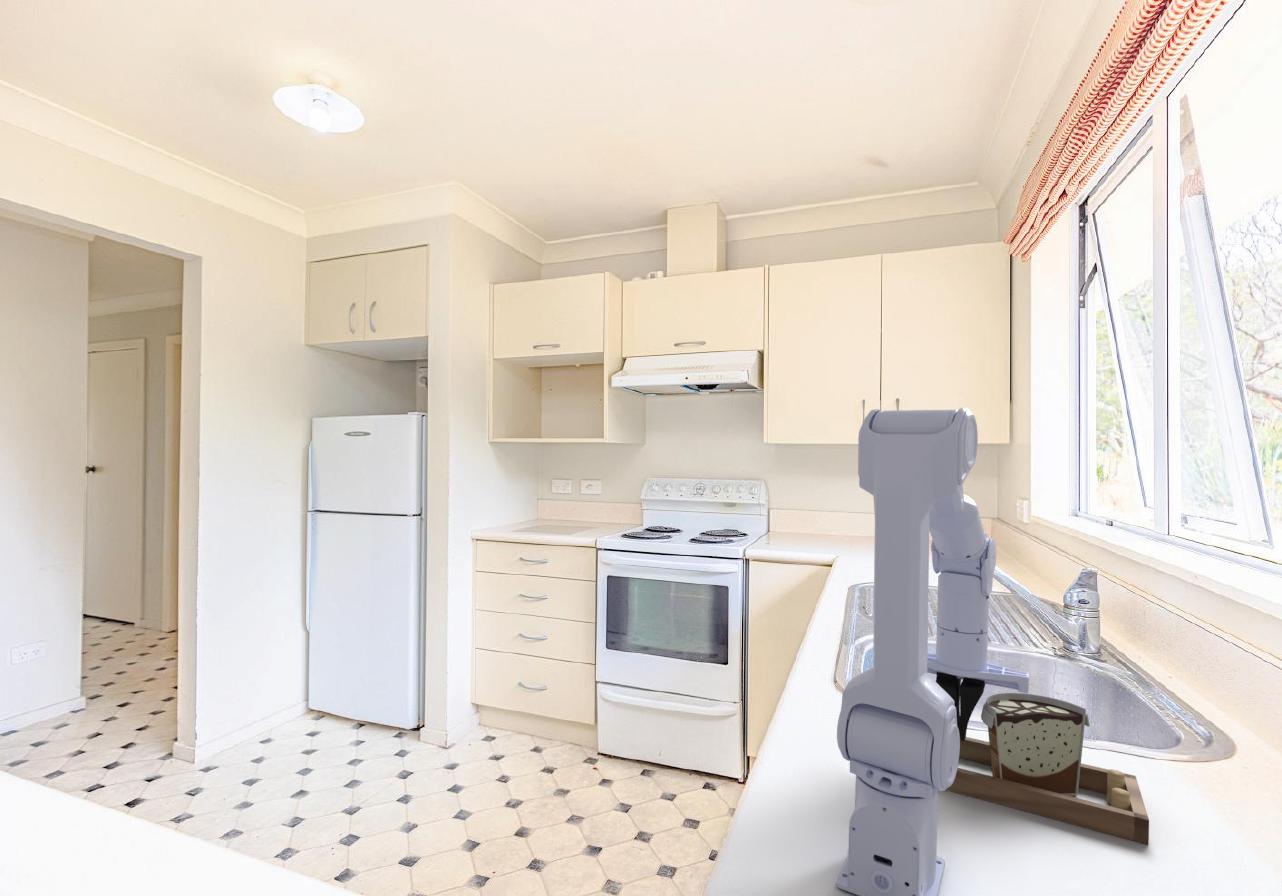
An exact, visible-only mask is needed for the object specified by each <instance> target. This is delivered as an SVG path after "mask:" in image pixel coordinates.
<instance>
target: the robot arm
mask: <svg viewBox="0 0 1282 896" xmlns="http://www.w3.org/2000/svg"><path fill="white" fill-rule="evenodd" d="M978 435H979V434H978V423H977V419H976V417H975V415H974V414H973V413H972V412H971V410H970V409H969V408H967V407H960V408H958V409H919V410H918V409H905V410H904V409H903V410H902V409H899V410H898V409H897V410H882V409H879V408H877V409H876V408H874V409H872V410H870V411H869V412H868V413H867V414H866V417H864V419H863V421H862V425H861V426H860V428H859V432H858V437H857V439H858V444H857V445H858V448H857V449H858V453H857V455H858V456H857V457H858V459H857V462H858V463H857V475H858V478H859V479H858V480H859V481H858V482H859V483H858V486H859V488H861V489H863V490H864V491H865V492H867V493H868V494H870V495H871V496H873V508H874V558H873V559H874V560H873V561H874V563H873V565H874V566H873V570H874V571H873V643H872V644H873V646H872V647H873V652H872V653H873V654H872V655H873V656H872V658H873V660H872V662H873V663H872V667H871V668H868V669H866V670H865V671H863V672H861V673H859V674H857V675H856V676H854V677H853V678H851V679H850V680H849V681H848V682H847V684H846V685H845V687H844V689H843V691H842V695H841V697H842V698H841V707H840V712H839V715H838V720H837V726H836V727H837V728H836V742H837V747H838V750H839V751H840V754H841V756H842V758H843V759H844V760H846V761H848V762H849V773H851V774H853V775H855V788H854V789H855V793H854V794H855V795H854V799H855V800H854V809H853V812H852V814H851V816H850V819H849V825H848V849H847V851H848V854H847V858H846V860H845V862H844V864H843V866H842V869H840V872H839V875H838V876H837V879H836V887H838V889H841V890H843V891H846V892H849V893H851V894H854V895H856V896H939V893H940V888H941V884H942V879H943V875H944V871H945V867H946V860H945V859H944V858H942V857H940V856H939V855H937V848H938V847H937V845H938V841H937V840H938V837H937V836H938V811H939V810H938V808H939V806H938V805H939V804H938V803H939V791H940V792H944V791H947V790H946V789H947V788H948V787H950V786H951V785H952V784H953V782H954V779H955V776H956V772H957V768H959V760H960V758H959V752H960V740H961V741H965V738H966V737H967V730H968V726H969V721H970V718H971V717H972V714H973V712H974V710H975V707H976V706H977V704H978V702H979V701H980V699H981V698H982V696H983V694H984V690H985V687H986V685H991V686H995V687H1002V688H1007V689H1010V690H1011V689H1012V690H1017V693H1025V694H1029V691H1030V687H1029V686H1030V673H1029V672H1024V671H1020V670H1015V669H1012V668H1008V667H1005V666H1001V665H997V664H993V663H990V662H988V650H989V649H988V648H989V647H988V646H989V645H988V644H989V641H988V639H989V613H990V611H989V610H990V609H989V608H990V603H989V602H990V598H989V597H990V594H991V593H992V591H993V581H994V580H993V579H994V574H995V569H996V564H997V546H996V541H995V539H994V538H989V536H988V534H987V533H985V530H984V525H983V523H982V519H981V515H980V510H979V508H978V505H977V503H976V502H975V501H974V499H973V498H971V497H970V496H968V495H967V494H964V487H963V485H964V483H965V481H966V479H967V477H968V476H969V473H970V471H971V470H972V469H973V467H974V466H975V463H976V459H977V453H978V441H979V440H978V439H979V437H978ZM930 536H931V538H932V539H931V543H930ZM930 544H931V545H930ZM930 551H931V560H932V561H931V562H932V570H933V571H934V573H935V574H937V575H938V574H939V575H938V576H937V578H938V579H937V608H936V609H937V611H936V613H937V614H936V639H935V640H936V642H935V643H936V647H935V653H928V651H929V650H928V648H929V647H928V645H929V644H928V642H929V640H928V639H929V586H930V585H929V584H930V583H929V582H930V581H929V577H930V575H929V573H930V572H929V571H930V570H929V569H930V565H929V563H930ZM930 674H933V675H936V677H935V678H936V679H935V680H934V679H933V677H931V675H930Z"/></svg>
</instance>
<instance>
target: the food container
mask: <svg viewBox="0 0 1282 896" xmlns="http://www.w3.org/2000/svg"><path fill="white" fill-rule="evenodd" d="M1086 710H1087V709H1086V708H1084V707H1082V706H1079V705H1077V704H1075V703H1071V702H1068V701H1066V700H1062V699H1058V698H1053V697H1048V696H1044V695H1038V694H1031V693H1028V694H1027V693H1022V692H1000V693H995V694H994V693H993V694H991V695H989V696H987V698H986V701H984V703H983V705H982V711H981V715H980V719H981V721H982V722H983V723H984V724H985V725H986V726H987V732H988V742H989V744H990V755H991V765H990V766H991V774H992V775H991V776H993V777H997V778H1001V779H1005V780H1008V781H1012V782H1016V783H1020V784H1024V785H1028V786H1032V787H1036V788H1040V789H1044V790H1048V791H1052V792H1056V793H1060V794H1064V795H1068V796H1071V797H1077V796H1079V795H1078V794H1079V788H1080V787H1079V777H1080V767H1081V763H1082V756H1083V744H1084V735H1085V726H1086V727H1091V726H1090V719H1089V715H1088V714H1087V712H1086Z"/></svg>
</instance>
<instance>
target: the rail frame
mask: <svg viewBox="0 0 1282 896" xmlns="http://www.w3.org/2000/svg"><path fill="white" fill-rule="evenodd" d="M959 759H964V760H968V761H972V762H976V763H981V764H984V765H988V766H991V755H990V744H989V741H986V740H982V739H976V738H972V737H968V736H966V738H965V741H961V740H960V752H959ZM1078 788H1082V789H1085V790H1089V791H1094V792H1097V793H1103V794H1106V803H1108V804H1109V805H1106V804H1102V803H1099V802H1094V801H1091V800H1086V799H1083V798H1079V797H1076V796H1068V795H1064V794H1060V793H1056V792H1052V791H1048V790H1044V789H1040V788H1036V787H1032V786H1028V785H1024V784H1020V783H1016V782H1012V781H1008V780H1005V779H1001V778H997V777H993V776H992V775H988V774H985V773H981V772H977V771H972V770H969V769H965V768H961V767H957V772H956V776H955V779H954V782H953V784H952V785H951V786H950V787H948V788H947V789H946V790H945V791H948V792H949V791H950V792H953V793H957V794H961V795H965V796H967V797H972V798H974V799H975V798H976V799H979V800H982V801H986V802H989V803H994V804H998V805H1002V806H1005V807H1008V808H1012V809H1014V810H1015V809H1016V810H1020V811H1024V812H1026V813H1030V814H1034V815H1037V816H1041V817H1045V818H1048V819H1052V820H1056V821H1060V822H1064V823H1067V824H1071V825H1074V826H1079V827H1081V828H1085V829H1089V830H1093V831H1096V832H1099V833H1104V834H1107V835H1111V836H1115V837H1118V838H1122V839H1126V840H1129V841H1133V842H1136V843H1140V844H1144V845H1147V846H1148V845H1150V844H1149V838H1150V837H1149V836H1150V819H1149V815H1148V811H1147V809H1146V807H1145V806H1146V805H1145V801H1144V799H1143V797H1142V793H1141V790H1140V786H1139V783H1138V779H1137V776H1136V775H1133V774H1130V773H1129V774H1128V773H1124V772H1122V771H1120V770H1117V769H1111V768H1110V769H1107V768H1103V767H1099V766H1094V765H1090V764H1086V763H1082V762H1081V767H1080V777H1079V787H1078ZM1110 805H1111V806H1110Z"/></svg>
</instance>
